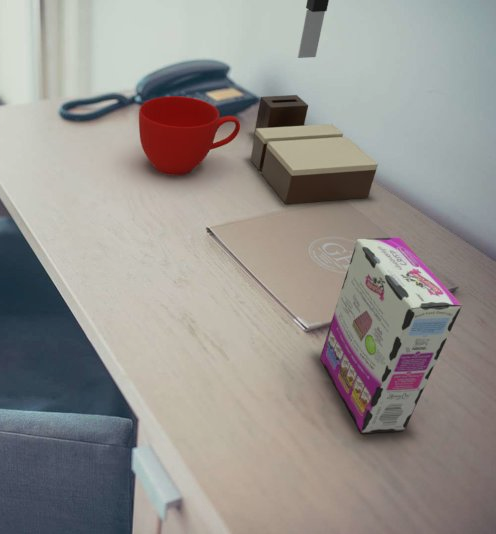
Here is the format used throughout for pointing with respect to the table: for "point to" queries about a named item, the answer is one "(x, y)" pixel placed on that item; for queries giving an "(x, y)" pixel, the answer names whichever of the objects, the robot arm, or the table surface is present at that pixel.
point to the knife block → (281, 112)
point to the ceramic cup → (180, 132)
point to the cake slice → (288, 137)
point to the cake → (318, 170)
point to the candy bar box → (386, 333)
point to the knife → (312, 27)
